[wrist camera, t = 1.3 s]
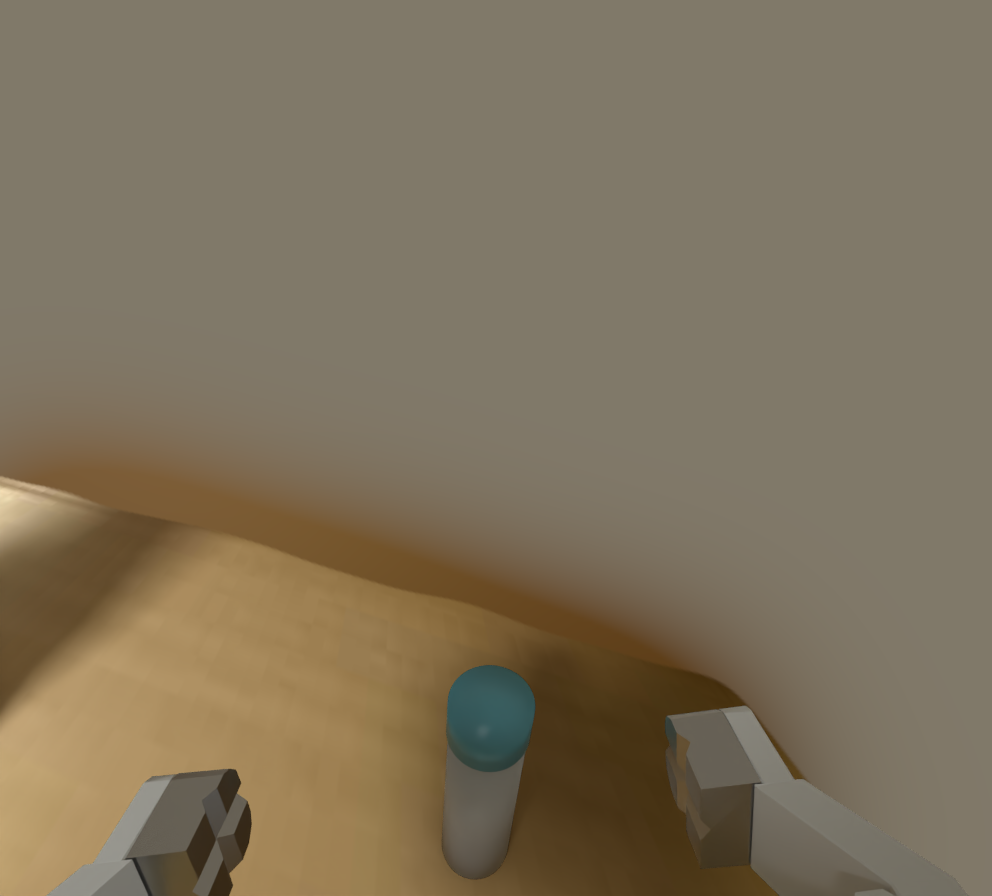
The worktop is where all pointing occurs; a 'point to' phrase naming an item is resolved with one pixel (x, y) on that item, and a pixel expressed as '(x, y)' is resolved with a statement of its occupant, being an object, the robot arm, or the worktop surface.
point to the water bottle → (484, 766)
